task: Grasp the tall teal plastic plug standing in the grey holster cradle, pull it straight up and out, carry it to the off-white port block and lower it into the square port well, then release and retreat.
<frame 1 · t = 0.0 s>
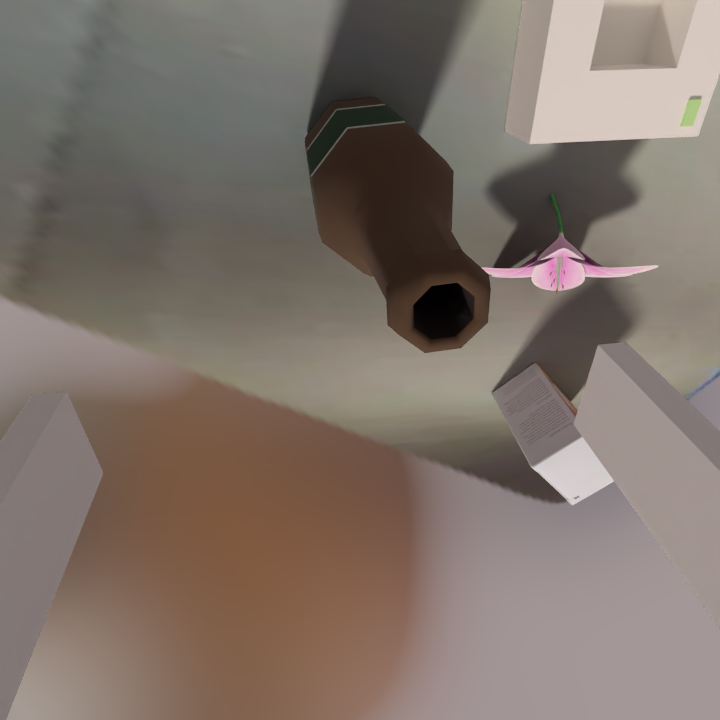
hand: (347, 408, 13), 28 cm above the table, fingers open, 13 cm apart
small box: (530, 396, 52), on the table
port: (607, 13, 33), on the table
beer bottle: (355, 151, 36), on the table
lily: (532, 243, 42), on the table
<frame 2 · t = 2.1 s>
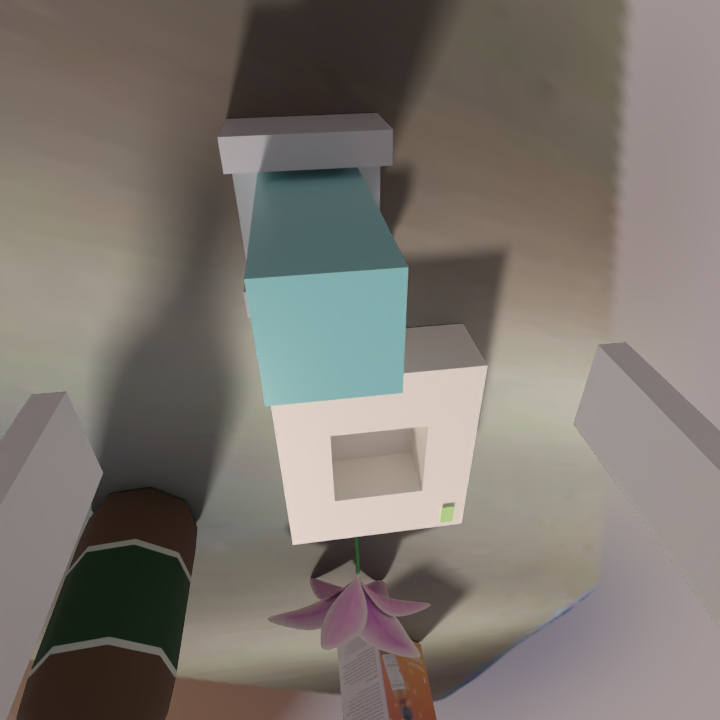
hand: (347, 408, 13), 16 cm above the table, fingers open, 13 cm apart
plug: (310, 210, 25), point 1 cm above the table, touching holster
small box: (378, 641, 54), on the table
port: (368, 417, 34), on the table
holster: (309, 204, 25), on the table
beer bottle: (146, 516, 37), on the table
lily: (347, 553, 44), on the table
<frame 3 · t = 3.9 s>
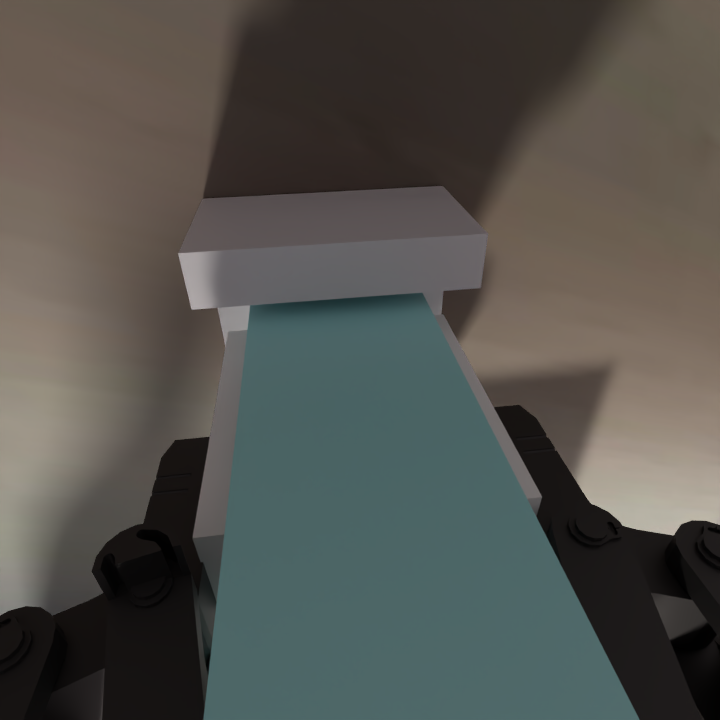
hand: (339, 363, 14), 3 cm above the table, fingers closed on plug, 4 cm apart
plug: (334, 330, 16), point 1 cm above the table, touching gripper, holster
holster: (332, 315, 17), on the table
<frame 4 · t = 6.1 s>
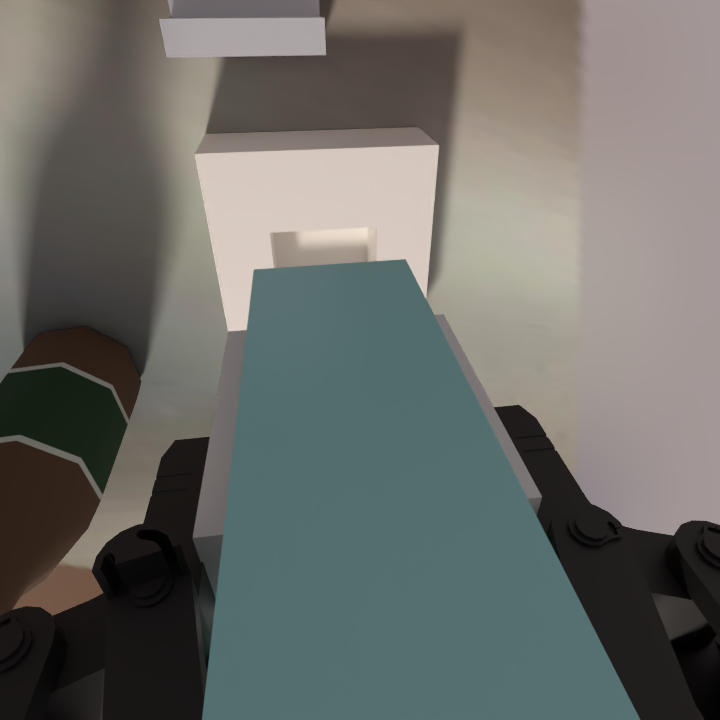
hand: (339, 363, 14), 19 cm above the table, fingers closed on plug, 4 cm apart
plug: (334, 329, 16), point 17 cm above the table, touching gripper
port: (320, 247, 32), on the table
beer bottle: (85, 367, 35), on the table
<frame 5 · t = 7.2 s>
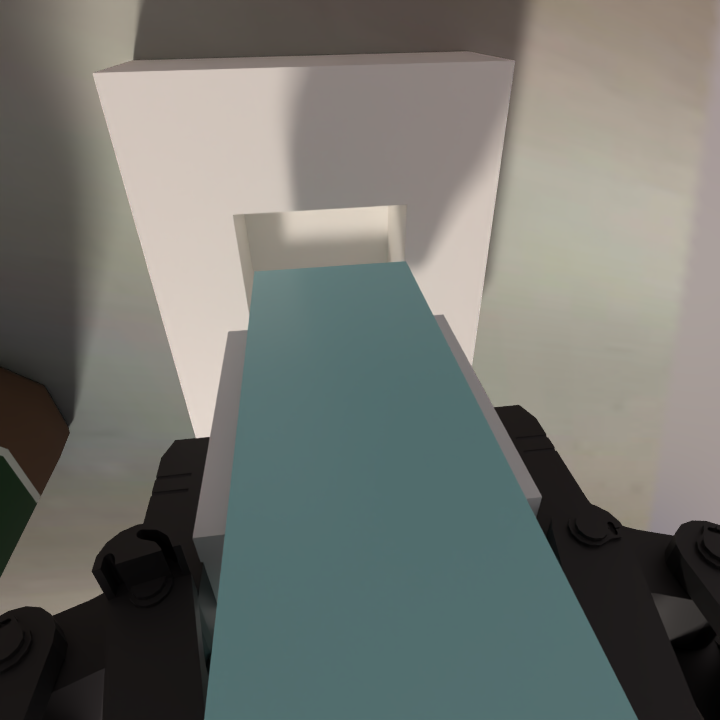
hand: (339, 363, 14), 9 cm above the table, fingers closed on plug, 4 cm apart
plug: (334, 331, 16), point 7 cm above the table, touching gripper
port: (318, 242, 22), on the table
when the fingers open (5 cm above the table, at t = 8.2 s): plug drops 2 cm, resting on port.
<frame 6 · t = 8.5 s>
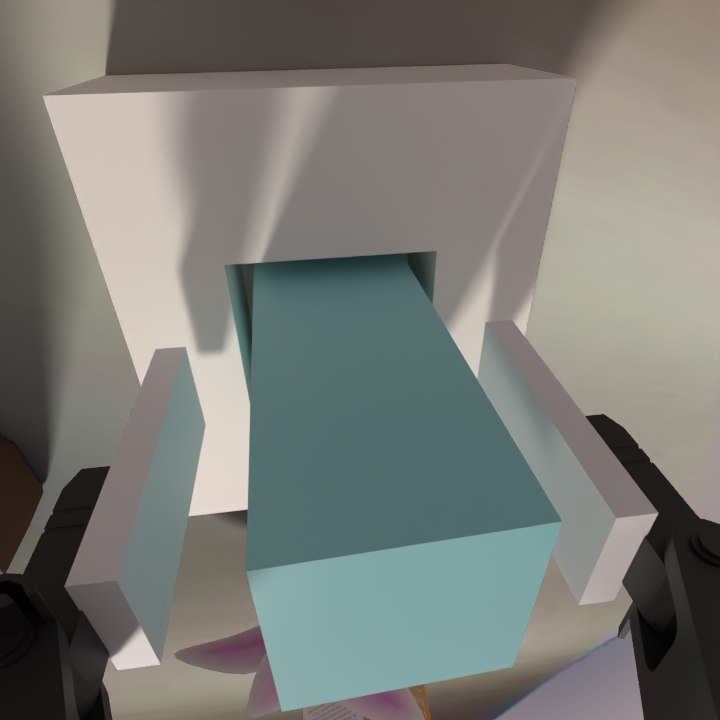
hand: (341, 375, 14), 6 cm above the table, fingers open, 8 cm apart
plug: (326, 295, 18), point 1 cm above the table, touching port
small box: (362, 671, 38), on the table
port: (326, 282, 19), on the table
lily: (314, 548, 28), on the table
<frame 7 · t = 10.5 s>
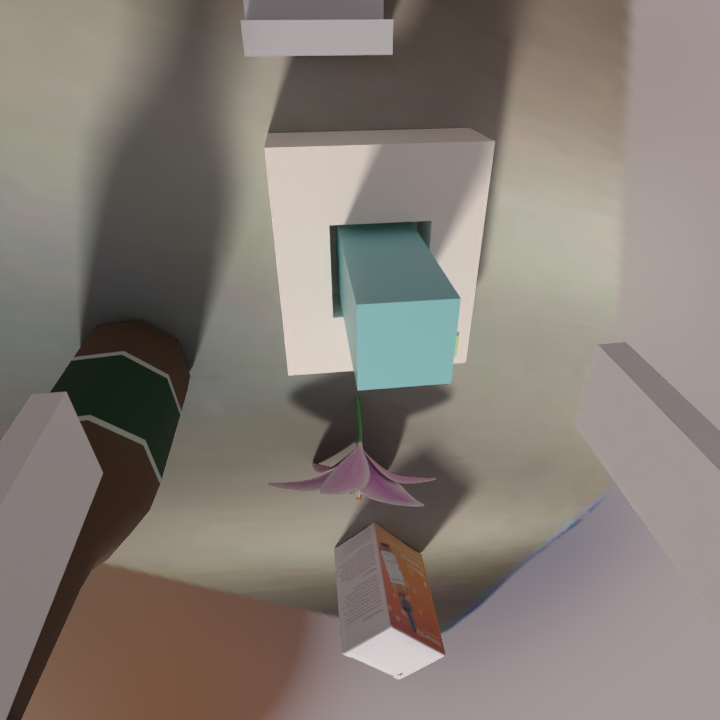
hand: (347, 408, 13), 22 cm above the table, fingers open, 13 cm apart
plug: (370, 250, 32), point 1 cm above the table, touching port
small box: (377, 548, 51), on the table
port: (370, 244, 33), on the table
beer bottle: (137, 360, 36), on the table
lily: (351, 435, 42), on the table
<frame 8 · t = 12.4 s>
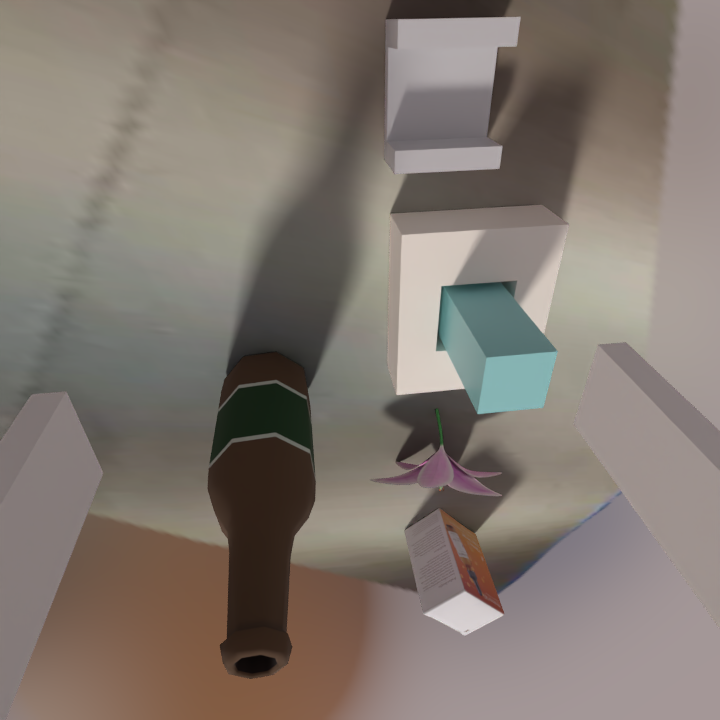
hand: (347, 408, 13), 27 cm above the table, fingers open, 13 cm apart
plug: (460, 296, 41), point 1 cm above the table, touching port
small box: (439, 529, 61), on the table
port: (458, 291, 42), on the table
holster: (436, 92, 33), on the table
beer bottle: (267, 382, 45), on the table
lily: (428, 438, 52), on the table
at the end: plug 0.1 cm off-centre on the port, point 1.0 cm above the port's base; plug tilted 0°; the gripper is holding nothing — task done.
